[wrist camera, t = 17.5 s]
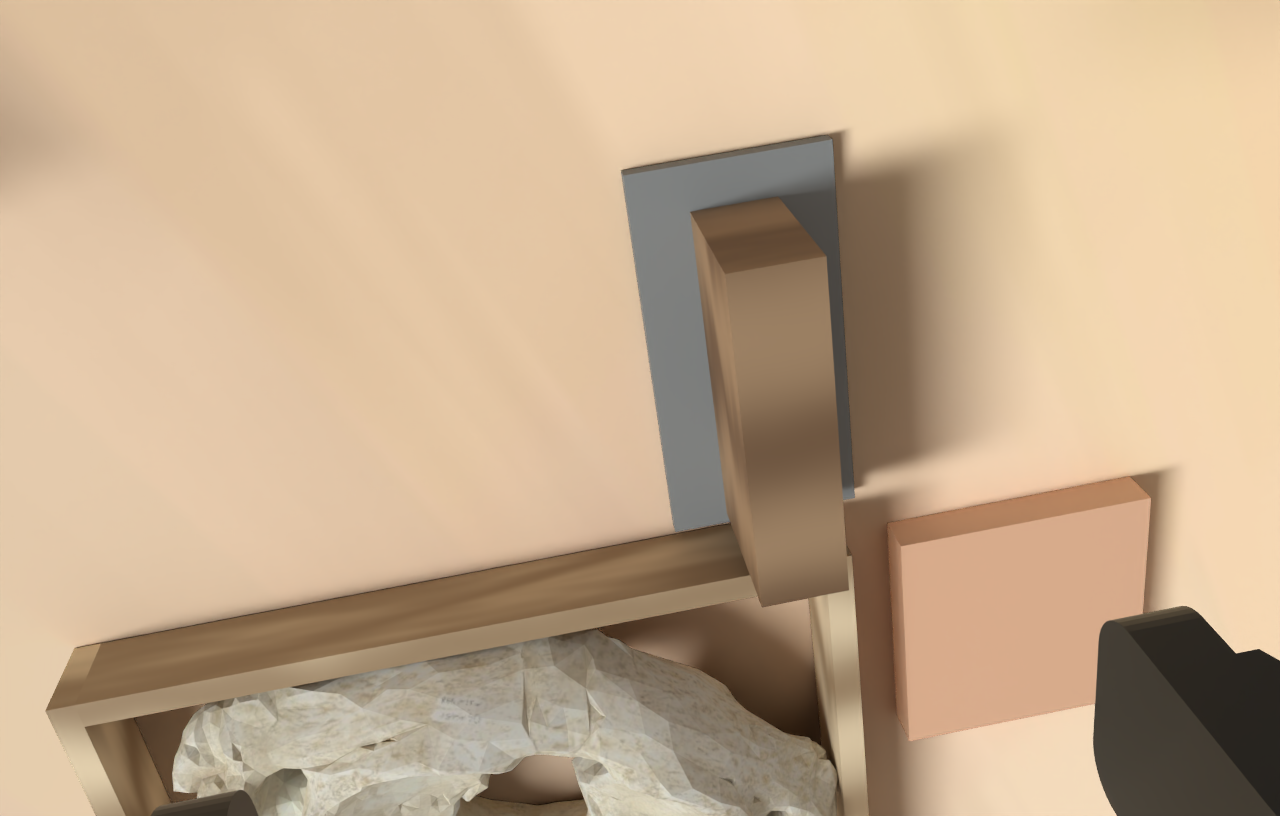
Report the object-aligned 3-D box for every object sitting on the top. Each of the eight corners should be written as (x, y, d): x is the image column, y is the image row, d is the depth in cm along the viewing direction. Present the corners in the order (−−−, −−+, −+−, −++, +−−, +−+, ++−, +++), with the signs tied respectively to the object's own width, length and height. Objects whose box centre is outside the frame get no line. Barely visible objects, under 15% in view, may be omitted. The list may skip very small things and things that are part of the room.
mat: (620, 170, 39) (623, 175, 39) (827, 134, 40) (832, 139, 39) (673, 523, 46) (675, 532, 45) (850, 490, 46) (854, 498, 46)
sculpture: (788, 694, 57) (777, 495, 46) (873, 911, 49) (883, 734, 39) (280, 843, 55) (144, 671, 44) (291, 1092, 47) (129, 960, 37)
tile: (900, 546, 46) (909, 741, 50) (1150, 498, 46) (1136, 695, 51) (883, 517, 48) (893, 707, 52) (1124, 471, 48) (1113, 664, 53)
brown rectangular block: (689, 211, 40) (725, 274, 34) (777, 196, 40) (826, 255, 34) (726, 513, 45) (761, 607, 40) (803, 498, 45) (849, 590, 40)
